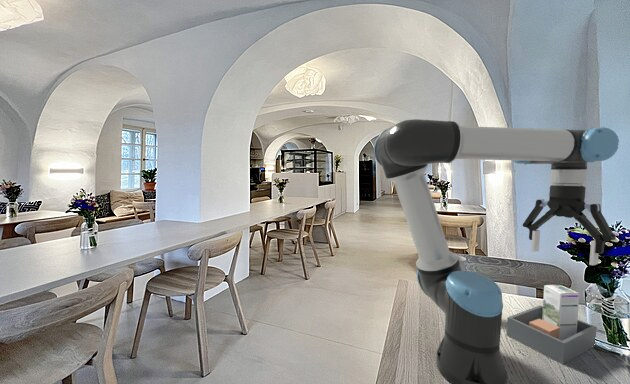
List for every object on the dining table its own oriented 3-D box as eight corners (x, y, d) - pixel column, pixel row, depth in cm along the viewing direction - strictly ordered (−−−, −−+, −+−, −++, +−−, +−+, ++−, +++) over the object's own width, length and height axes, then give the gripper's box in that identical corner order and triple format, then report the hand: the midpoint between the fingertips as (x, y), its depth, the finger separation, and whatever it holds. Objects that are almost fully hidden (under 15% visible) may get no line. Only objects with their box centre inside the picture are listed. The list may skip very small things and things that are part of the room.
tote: (562, 364, 69) (564, 343, 68) (506, 335, 81) (507, 317, 81) (595, 345, 76) (596, 327, 76) (538, 321, 88) (540, 305, 88)
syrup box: (577, 341, 77) (581, 292, 76) (557, 341, 77) (560, 292, 76) (559, 329, 83) (562, 284, 82) (540, 330, 83) (543, 284, 82)
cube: (548, 348, 74) (549, 331, 74) (528, 338, 78) (529, 322, 78) (558, 344, 76) (559, 327, 75) (538, 334, 80) (539, 318, 80)
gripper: (638, 186, 67) (630, 269, 69) (525, 183, 90) (521, 245, 91) (625, 187, 64) (617, 273, 66) (512, 183, 87) (508, 247, 88)
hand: (561, 257), depth 79 cm, fingers open, 13 cm apart
